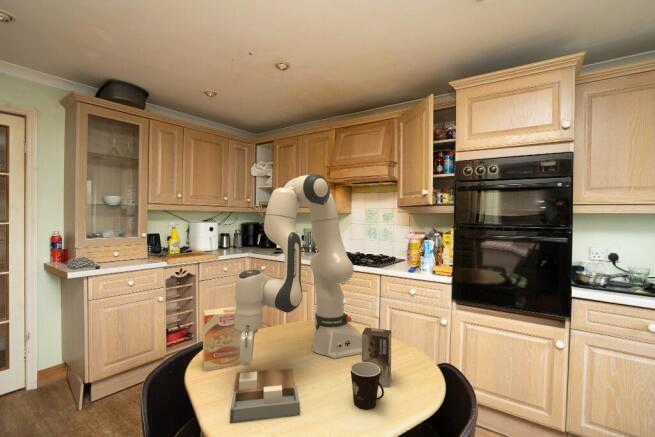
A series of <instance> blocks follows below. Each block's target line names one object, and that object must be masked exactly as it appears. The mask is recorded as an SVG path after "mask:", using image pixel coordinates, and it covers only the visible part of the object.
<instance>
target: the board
mask: <svg viewBox="0 0 655 437" xmlns="http://www.w3.org/2000/svg"><path fill="white" fill-rule="evenodd" d="M247 372H248V371H244V372H243V371H242V372H241V371H240V372H236V375H235V380H234V385H233V386H234V387H233V392H236V401H246V400H256V399H264V387H269V386H280V385H282V397H285V396H294V386H297V384H296V379H295V374H294V370H293V367H289V368H287V367H286V368H277V369H267V370H266V369H265V370H253V371H251V372H257V388H255V389H245V390H239V379H240V373H247Z"/></svg>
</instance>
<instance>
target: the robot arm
mask: <svg viewBox="0 0 655 437" xmlns="http://www.w3.org/2000/svg"><path fill="white" fill-rule="evenodd" d="M330 192H331V191H330V185H329V182H328V180H327V179H326V178H325V176H323V175H322V174H316V173H312V174H311V173H310V174H304V175H300V176H298V177H295V178H290V179H288V180H287V181H285V182H284V183H283V184H282V186H281V187H278V188H275V189H273V191H272V193H271V195H270V197H269V199H268V203H267V207H266V210H265V211H266V212H265V216H264V223H263V231H264V233H265V234H264V235H266V237H267V238H268V240H270V241H271V242H272V243H274V244H275V245H277V246H279V248H280V249H281V250H282V252H283V255H284V260H283V261H284V263H283V264H284V266H283V269H284V270H283V279H279V278H276V277H271V276H268V275H266V274H264V273H263V271H261V270H259V269H247V270H244V271H241V272H240V273H239V274H238V276H237V279H236V281H235V282H236V284H235V292H234V300H235V307H236V309H235V316H234V328H235V329H237V330H238V333H239V334H241V338H240V356H239V360H240V362H241V363H244V364H243V365H244V367H249V366H250V364H251V363H252V361H253V355H254V354H253V353H254V343H255V336H256V334H257V333H258V332H259V329H261V328H262V327H263V315H264V314H263V312H264V311H263V309H264V308H263V307H265V306H266V307H268V308H273V309H277V310H278V311H281V312H283V313H287V314H288V313H291V312H293V311H294V310H296V309H297V308H298V307H299V306H300V305H301V303H302V301H303V288H302V287H303V286H302V242H301V237H300V236H299V234H297V229H296V228H297V226H296V224H297V217H298V209H299V208H300V206H307V208H308V209H309V215H310V224H311V231H312V232H311V233H312V240H313V242H314V243H315V245H316V248H317V250H318V252H316V253H314V254H313V255H312V257H311V258H310V261H309V264H310V268H311V271H312V274H313V280H314V285H315V286H314V287H315V293H316V294H315V296H316V311H315V316H314V326H315V330H314V331H315V332H314V338H313V343H312V346H311V349H312V351H313V352H315V353H316V354H318V355H322V356H327V357H329V358H332V359H338V358H343V357H344V358H345V357H349V356H350V357H351V356H355V355H362V335H361V333H360V331H359V330H358V329H357V328H356V327H355V326H354V325H352V324H351V322H352V317H351V316H350V315H348V314H347V313H345V311H344V303H345V301H344V299H345V298H344V297H345V296H344V292H343V290H342V287H341V284H342V283H346V282H349V280H351V278H352V277H353V275H354V270H355V269H354V265H353V262H352V261H351V260H350V258H349V256H348V254H347V251H346V249H345V246H344V243H343V239H342V235H341V229H340V222H339V215H338V214H339V213H338V209H337V206H336V202H335V198H334V197H333V195H332V193H330Z"/></svg>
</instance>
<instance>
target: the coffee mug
mask: <svg viewBox="0 0 655 437" xmlns="http://www.w3.org/2000/svg"><path fill="white" fill-rule="evenodd" d="M349 369H350V378H351V380H350V381H351V387H352V388H351V389H352V399H353V404H354V406H355V407H356V409H359V410H362V409H363V411H370V410H373V409H375V407H376V405H377V401H379V400H381V399H383V397H384V395H385V390H384V386H382V385H381V384H380V383H379V378H380V368H379V367H378V366H377V365H375V364H373V363H369V362H362V361H358V362H354V363H352V365H351V366H350V368H349ZM379 388H380V390H381V395H380V396H378V393H379Z"/></svg>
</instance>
